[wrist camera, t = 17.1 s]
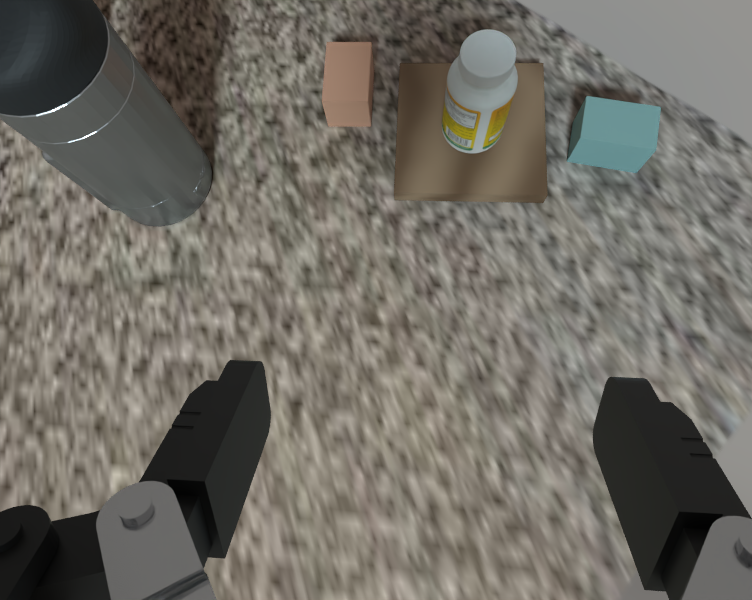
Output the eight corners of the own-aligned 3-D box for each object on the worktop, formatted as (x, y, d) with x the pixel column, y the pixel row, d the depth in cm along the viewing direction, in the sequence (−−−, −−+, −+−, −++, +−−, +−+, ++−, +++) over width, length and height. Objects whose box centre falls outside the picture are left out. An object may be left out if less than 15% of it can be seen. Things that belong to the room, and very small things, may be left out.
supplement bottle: (445, 158, 46) (453, 89, 37) (438, 105, 47) (444, 25, 38) (507, 152, 46) (531, 80, 36) (498, 98, 47) (519, 16, 38)
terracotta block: (371, 127, 49) (367, 101, 45) (328, 127, 49) (321, 101, 45) (374, 71, 50) (371, 42, 47) (333, 71, 51) (326, 42, 47)
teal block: (566, 162, 47) (580, 138, 43) (572, 123, 48) (586, 95, 44) (635, 173, 46) (656, 149, 42) (640, 133, 47) (661, 106, 43)
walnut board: (394, 200, 47) (394, 192, 45) (400, 73, 50) (399, 63, 49) (543, 202, 46) (547, 195, 45) (539, 73, 49) (543, 63, 48)
